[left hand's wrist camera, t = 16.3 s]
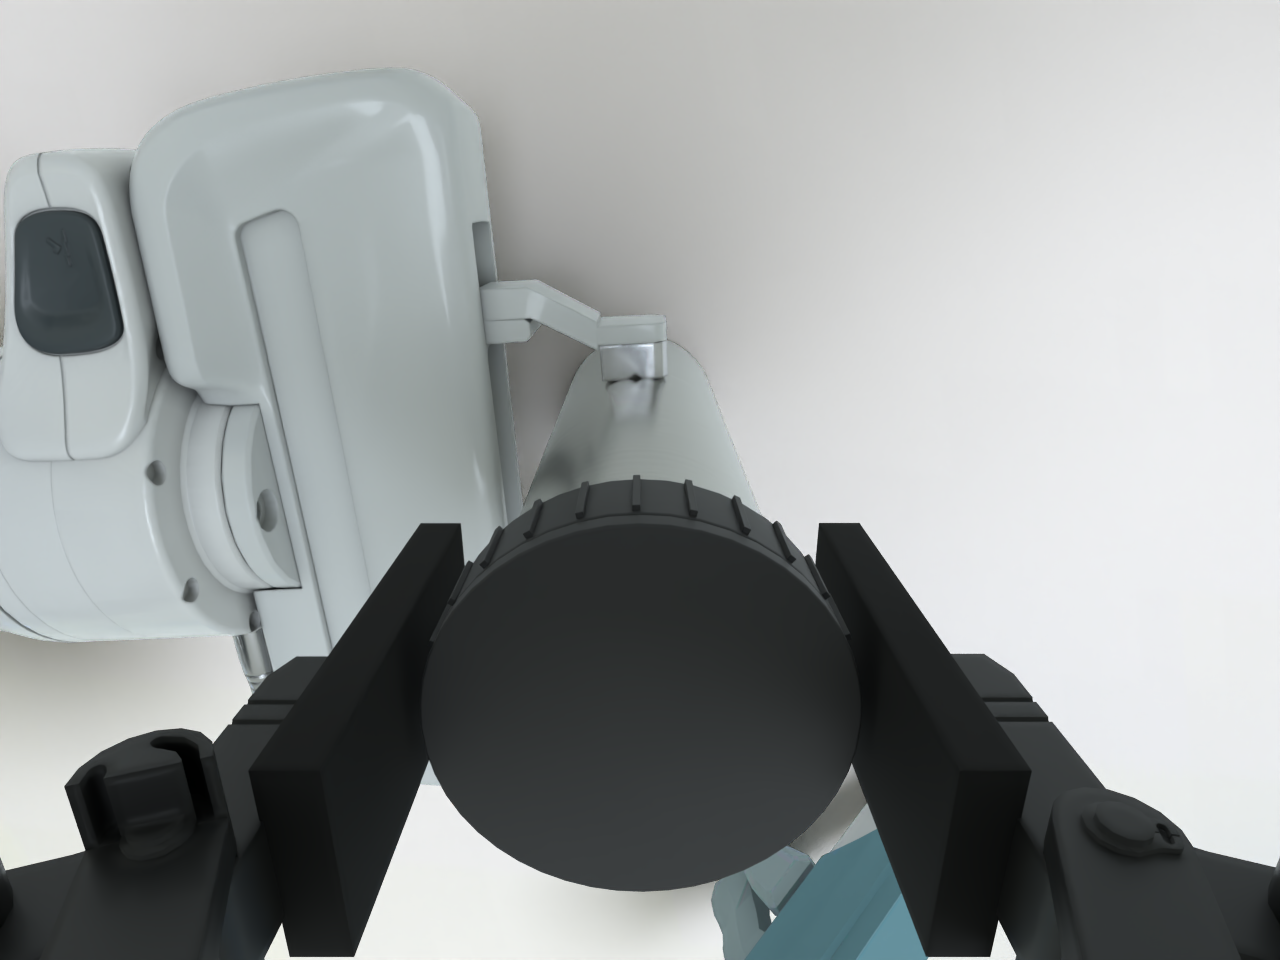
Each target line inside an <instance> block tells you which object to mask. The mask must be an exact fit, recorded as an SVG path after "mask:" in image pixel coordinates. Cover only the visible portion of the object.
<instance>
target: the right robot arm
mask: <svg viewBox="0 0 1280 960" xmlns="http://www.w3.org/2000/svg"><path fill="white" fill-rule="evenodd" d="M4 222H5V270H6V279H5V322H4V339H3V346H1V347H0V631H6V632H10V633H13V634H17V635H21V636H25V637H29V638H33V639H37V640H42V641H53V642H67V643H70V642H92V641H118V640H141V639H161V638H188V637H212V636H233V640H234V643H235V647H236V650H237V654H238V658H239V661H240V664H241V667H242V669H243V672H244V674H245V676H246V678H247V680H248V683H249V686H250V688H251V691H252V694H253V693H254V692H255V691H256V689H257V688H258V687H259V686H260V684H261V683H262V682H263V681H264V679H265V678H266V677H267V676H268V675H270V674H271V673H273V672H274V671H276V670H277V669H279V668H280V667H281V666H283V665H284V664H286V663H287V662H289V661H290V660H292V659H293V658H295V657H296V656H328V655H329V654H330V652H331V651H332V650H333V648H334V647H335V645H336V644H337V642H338V641H339V640H340V638H341V637H342V635H343V634H344V632H345V631H346V629H347V628H348V627H349V625H350V624H351V622H352V621H353V619H354V618H355V617H356V615H357V614H358V612H359V611H360V609H361V608H362V607H363V605H364V604H365V602H366V601H367V599H368V598H369V596H370V595H371V594H372V592H373V591H374V589H375V588H376V586H377V585H378V584H379V582H380V581H381V579H382V578H383V576H384V575H385V574H386V572H387V571H388V569H389V568H390V566H391V565H392V563H393V562H394V561H395V559H396V558H397V556H398V555H399V553H400V552H401V551H402V549H403V548H404V546H405V545H406V543H407V542H408V541H409V539H410V538H411V536H412V535H413V533H414V532H415V531H416V529H417V528H418V526H419V525H420V523H461V530H462V541H463V552H464V563H465V565H466V563H467V562H468V561H471V562H473V563H474V561H475V560H476V558H477V557H478V555H479V554H480V553H481V552H482V550H483V549H484V548H485V547H486V546H487V545H488V544H489V542H490V539H491V537H492V535H493V533H494V531H495V529H496V528H497V527H498V526H501V527H502V528H503V529H504V528H505V527H506V526H507V525H509V524H510V523H511V522H512V521H513V520H515V519H516V518H518V517H519V516H520V513H521V511H522V508H523V501H522V492H521V483H520V474H519V465H518V456H517V447H516V438H515V429H514V421H513V412H512V403H511V394H510V385H509V376H508V367H507V358H506V349H505V343H518V342H528V340H529V339H530V338H531V337H532V336H533V334H534V333H535V332H536V331H537V330H538V329H539V327H540V326H541V324H543V325H545V326H547V327H549V328H551V329H553V330H555V331H557V332H559V333H562V334H564V335H566V336H568V337H570V338H572V339H574V340H576V341H578V342H580V343H582V344H584V345H586V346H588V347H591V348H593V349H595V350H597V351H598V350H599V349H600V360H601V372H602V381H619V380H626V379H629V378H630V377H632V376H633V375H634V374H636V375H638V376H639V377H641V378H647V379H657V378H663V377H665V376H668V365H667V327H666V317H665V316H664V315H654V314H651V315H630V316H610V317H601V313H600V312H599V311H597V310H595V309H593V308H591V307H589V306H587V305H585V304H583V303H582V302H580V301H578V300H576V299H574V298H572V297H570V296H568V295H566V294H564V293H562V292H560V291H559V290H557V289H555V288H553V287H551V286H549V285H547V284H545V283H543V282H541V281H539V280H518V281H498V278H497V269H496V260H495V251H494V242H493V233H492V225H491V216H490V207H489V198H488V189H487V180H486V171H485V162H484V153H483V144H482V135H481V127H480V122H479V119H478V117H477V115H476V113H475V112H474V110H473V109H472V108H471V107H470V106H469V105H467V104H466V103H465V102H464V101H463V100H462V99H461V98H460V97H459V96H458V95H457V94H455V93H454V92H453V91H452V90H451V89H450V88H448V87H447V86H446V85H445V84H443V83H442V82H440V81H439V80H437V79H436V78H434V77H432V76H430V75H428V74H426V73H423V72H420V71H417V70H414V69H408V68H374V69H361V70H352V71H344V72H335V73H327V74H320V75H314V76H307V77H300V78H295V79H289V80H284V81H279V82H273V83H268V84H263V85H259V86H254V87H250V88H246V89H241V90H237V91H233V92H229V93H225V94H221V95H217V96H213V97H209V98H206V99H203V100H200V101H197V102H194V103H191V104H189V105H186V106H184V107H182V108H180V109H177V110H176V111H174V112H172V113H170V114H169V115H167V116H166V117H164V118H163V119H162V120H160V121H159V122H158V123H156V124H155V125H154V126H153V127H152V128H151V129H150V130H149V131H148V133H147V134H146V135H145V137H144V138H143V140H142V141H141V143H140V144H139V146H138V148H137V150H131V149H117V148H96V149H71V150H59V151H51V152H44V153H36V154H31V155H27V156H24V157H22V158H20V159H18V160H17V161H16V162H15V163H14V164H13V165H12V166H11V168H10V170H9V172H8V175H7V179H6V183H5V192H4ZM420 784H423V785H440V783H439V781H438V780H437V778H436V776H435V774H434V772H433V769H432V766H431V764H430V761H429V762H428V765H427V767H426V770H425V772H424V775H423V778H422V780H421V783H420ZM440 786H441V785H440Z"/></svg>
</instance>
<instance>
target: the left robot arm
mask: <svg viewBox="0 0 1280 960" xmlns="http://www.w3.org/2000/svg"><path fill="white" fill-rule="evenodd" d="M815 566H816V568H817V570H818V572H819V574H820V576H821V578H822V580H823V582H824V584H825V586H826V588H827V590H828V592H829V593H830V594H831V596H832V598H833V600H834V602H835V604H836V606H837V608H838V610H839V612H840V614H841V616H842V618H843V620H844V622H845V624H846V626H847V628H848V630H849V632H850V635H851V638H852V640H849V641H848V643H849V645H850V648H851V650H852V652H853V656H854V659H855V662H856V666H857V669H858V673H859V677H860V685H861V693H862V724H861V729H860V734H859V739H858V744H857V749H856V752H855V755H854V758H853V760H852V765H853V767H854V770H855V772H856V775H857V778H858V780H859V783H860V786H861V788H862V791H863V793H864V796H865V799H866V801H867V804H868V806H869V809H870V812H871V814H872V817H873V820H874V822H875V825H876V827H877V830H878V833H879V835H880V838H881V841H882V843H883V846H884V848H885V851H886V854H887V856H888V859H889V861H890V864H891V867H892V869H893V872H894V875H895V877H896V880H897V882H898V885H899V888H900V890H901V893H902V895H903V898H904V901H905V903H906V906H907V909H908V911H909V914H910V916H911V919H912V922H913V924H914V927H915V929H916V932H917V935H918V937H919V940H920V943H921V945H922V948H923V950H924V953H925V956H926V957H990V955H991V951H992V946H993V942H994V938H995V933H996V929H997V924H998V920H999V922H1000V924H1001V926H1002V928H1003V930H1004V932H1005V933H1006V935H1007V937H1008V939H1009V941H1010V943H1011V945H1012V947H1013V949H1014V951H1015V953H1016V959H1015V960H1280V858H1279V861H1278V864H1277V866H1276V868H1275V867H1271V866H1267V865H1263V864H1258V863H1254V862H1250V861H1246V860H1241V859H1237V858H1233V857H1228V856H1224V855H1220V854H1216V853H1211V852H1207V851H1204V850H1201V849H1197V848H1194V847H1193V846H1192V845H1191V843H1190V842H1189V840H1188V839H1187V837H1186V836H1185V834H1184V833H1183V831H1182V830H1181V829H1180V828H1179V827H1177V826H1176V825H1175V824H1174V823H1173V822H1171V821H1170V820H1169V819H1168V818H1167V817H1165V816H1164V815H1163V814H1162V813H1161V812H1159V811H1157V810H1155V809H1154V808H1152V807H1150V806H1148V805H1146V804H1144V803H1143V802H1141V801H1139V800H1137V799H1135V798H1133V797H1130V796H1127V795H1124V794H1120V793H1117V792H1114V791H1111V790H1108V789H1106V788H1105V787H1104V786H1103V785H1102V783H1101V782H1100V781H1099V780H1098V778H1097V777H1096V776H1095V775H1094V773H1093V772H1092V771H1091V770H1090V768H1089V767H1088V766H1087V765H1086V764H1085V762H1084V761H1083V760H1082V759H1081V757H1080V756H1079V755H1078V754H1077V752H1076V751H1075V750H1074V749H1073V747H1072V746H1071V745H1070V744H1069V742H1068V741H1067V740H1066V739H1065V737H1064V736H1063V735H1062V734H1061V732H1060V731H1059V730H1058V729H1057V727H1056V726H1055V725H1054V724H1053V722H1049V721H1048V716H1047V715H1046V714H1045V712H1044V711H1043V710H1042V709H1041V707H1040V706H1039V705H1038V704H1037V702H1033V700H1032V696H1031V695H1030V694H1029V692H1028V691H1027V690H1026V689H1025V688H1024V686H1023V685H1022V684H1021V683H1020V681H1019V680H1018V679H1017V678H1016V676H1015V675H1014V674H1013V673H1011V672H1010V671H1008V670H1007V669H1005V668H1004V667H1003V666H1001V665H1000V664H998V663H997V662H995V661H994V660H992V659H991V658H989V657H988V656H986V655H985V654H950V652H949V651H948V650H947V648H946V647H945V645H944V644H943V642H942V641H941V639H940V638H939V637H938V635H937V634H936V632H935V631H934V629H933V628H932V627H931V625H930V624H929V622H928V621H927V619H926V618H925V617H924V615H923V614H922V612H921V611H920V609H919V608H918V607H917V605H916V604H915V602H914V601H913V599H912V598H911V596H910V595H909V594H908V592H907V591H906V589H905V588H904V586H903V585H902V584H901V582H900V581H899V579H898V578H897V576H896V575H895V574H894V572H893V571H892V569H891V568H890V566H889V565H888V563H887V562H886V561H885V559H884V558H883V556H882V555H881V553H880V552H879V551H878V549H877V548H876V546H875V545H874V543H873V542H872V541H871V539H870V538H869V536H868V535H867V533H866V532H865V530H864V529H863V528H862V526H861V525H860V523H819V530H818V541H817V552H816V564H815ZM464 567H465V563H464V552H463V541H462V530H461V523H420V525H419V526H418V528H417V529H416V531H415V532H414V533H413V535H412V536H411V538H410V539H409V541H408V542H407V543H406V545H405V546H404V548H403V549H402V551H401V552H400V553H399V555H398V556H397V558H396V559H395V561H394V562H393V563H392V565H391V566H390V568H389V569H388V571H387V572H386V574H385V575H384V576H383V578H382V579H381V581H380V582H379V584H378V585H377V586H376V588H375V589H374V591H373V592H372V594H371V595H370V596H369V598H368V599H367V601H366V602H365V604H364V605H363V607H362V608H361V609H360V611H359V612H358V614H357V615H356V617H355V618H354V619H353V621H352V622H351V624H350V625H349V627H348V628H347V629H346V631H345V632H344V634H343V635H342V637H341V638H340V640H339V641H338V642H337V644H336V645H335V647H334V648H333V650H332V651H331V652H330V654H329V655H328V656H296V657H295V658H293V659H292V660H290V661H289V662H287V663H286V664H284V665H283V666H281V667H280V668H279V669H277V670H276V671H274V672H273V673H271V674H270V675H268V676H267V677H266V678H265V679H264V681H263V682H262V683H261V684H260V686H259V687H258V688H257V689H256V691H255V692H254V693H253V694H252V696H251V697H250V698H249V699H248V704H247V705H244V706H243V707H242V708H241V709H240V711H239V712H238V713H237V714H236V716H235V717H234V718H233V719H232V720H233V722H232V725H228V726H227V727H226V728H225V730H224V731H223V732H222V733H221V735H220V736H219V737H218V738H217V740H216V741H215V742H214V743H213V744H212V741H211V740H210V739H208V738H207V737H206V736H205V735H204V734H202V733H201V732H198V731H193V730H187V729H182V728H179V729H168V730H157V731H153V732H150V733H146V734H143V735H139V736H136V737H132V738H129V739H127V740H125V741H122V742H120V743H118V744H116V745H114V746H112V747H110V748H108V749H106V750H104V751H102V752H100V753H99V754H98V755H96V756H95V757H93V758H92V759H91V760H89V761H88V762H87V763H85V764H84V765H83V766H81V767H80V768H79V769H78V770H77V771H76V772H75V774H74V775H73V776H72V777H71V779H70V780H69V781H68V782H67V784H66V785H65V786H64V787H65V790H66V793H67V796H68V799H69V802H70V805H71V808H72V811H73V814H74V817H75V820H76V823H77V826H78V829H79V832H80V835H81V838H82V841H83V844H84V847H85V851H84V852H80V853H77V854H74V855H70V856H65V857H61V858H57V859H53V860H49V861H44V862H40V863H36V864H32V865H27V866H23V867H19V868H15V869H10V870H6V871H5V869H4V866H3V863H2V861H1V858H0V960H265V959H264V957H265V955H266V953H267V951H268V949H269V947H270V945H271V943H272V941H273V939H274V937H275V935H276V933H277V931H278V929H279V927H280V925H281V923H282V924H283V929H284V933H285V937H286V942H287V946H288V951H289V955H290V957H354V956H355V953H356V950H357V948H358V945H359V943H360V940H361V937H362V935H363V932H364V930H365V927H366V924H367V922H368V919H369V916H370V914H371V911H372V909H373V906H374V903H375V901H376V898H377V896H378V893H379V890H380V888H381V885H382V882H383V880H384V877H385V875H386V872H387V869H388V867H389V864H390V861H391V859H392V856H393V854H394V851H395V848H396V846H397V843H398V841H399V838H400V835H401V833H402V830H403V827H404V825H405V822H406V820H407V817H408V814H409V812H410V809H411V807H412V804H413V801H414V799H415V796H416V793H417V791H418V788H419V786H420V783H421V780H422V778H423V775H424V772H425V770H426V767H427V765H428V762H429V758H428V756H427V753H426V749H425V745H424V740H423V735H422V730H421V722H420V704H419V703H420V693H421V683H422V677H423V673H424V669H425V666H426V662H427V658H428V655H429V652H430V650H431V647H428V644H429V640H430V638H431V636H432V634H433V632H434V630H435V628H436V626H437V624H438V622H439V620H440V618H441V616H442V614H443V612H444V610H445V608H446V606H447V602H448V600H449V598H450V596H451V594H452V592H453V590H454V587H455V585H456V583H457V581H458V579H459V577H460V575H461V573H462V571H463V569H464Z"/></svg>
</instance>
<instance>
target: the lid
mask: <svg viewBox="0 0 1280 960" xmlns="http://www.w3.org/2000/svg"><path fill="white" fill-rule="evenodd" d="M849 640H852V638H851V635H850V632H849V630H848V628H847V626H846V624H845V622H844V620H843V618H842V616H841V614H840V612H839V610H838V608H837V606H836V604H835V602H834V600H833V598H832V596H831V594H830V593H829V592H828V590H827V588H826V586H825V584H824V582H823V580H822V578H821V576H820V574H819V572H818V570H817V568H816V566H815V564H814V562H813V560H812V558H811V556H810V555H809V554H808V555H807V556H805V557H804V556H803V554H802V553H801V552H800V551H799V549H798V548H797V547H796V546H795V545H794V544H793V543H792V542H791V541H790V539H789V538H788V537H787V536H786V534H785V532H784V530H783V528H782V525H781V524H780V523H779V522H778V521H775V522H774V523H773V524H772V523H771V522H769V521H768V520H767V519H766V518H764V517H763V516H761V515H760V514H758V513H756V512H755V511H753V510H752V509H750V508H749V507H747V506H745V505H744V504H742V501H741V499H740V497H738V496H736V495H734V496H733V498H732V499H731V498H729V497H726V496H724V495H722V494H720V493H717V492H714V491H710V490H707V489H704V488H701V487H697V486H694V485H693V483H692V480H687V479H685V482H684V483H678V482H672V481H667V480H648V479H640V475H633V479H632V480H618V481H609V482H604V483H598V484H593V485H589V482H588V481H586V482H582V483H581V488H578V489H575V490H572V491H569V492H566V493H563V494H559V495H557V496H555V497H553V498H551V499H549V500H547V501H545V502H542V500H541V499H538V500H536V501H534V504H533V507H532V508H531V509H530V510H528V511H527V512H525V513H524V514H522V515H521V516H519V517H518V518H516V519H515V520H513V521H512V522H511V523H510V524H509V525H507V526H506V527H505V528H504V529H503V528H502V527H501V526H498V527H497V528H496V529H495V531H494V533H493V535H492V537H491V539H490V542H489V544H488V545H487V546H486V547H485V548H484V549H483V550H482V552H481V553H480V554H479V555H478V557H477V558H476V560H475V561H474V563H473V562H471V561H468V562H467V563H466V565H465V567H464V569H463V571H462V573H461V575H460V577H459V579H458V581H457V583H456V585H455V587H454V590H453V592H452V594H451V596H450V598H449V600H448V602H447V606H446V608H445V610H444V612H443V614H442V616H441V618H440V620H439V622H438V624H437V626H436V628H435V630H434V632H433V634H432V636H431V638H430V640H429V644H428V647H431V650H430V652H429V655H428V658H427V662H426V666H425V669H424V673H423V677H422V683H421V693H420V703H419V704H420V722H421V730H422V735H423V740H424V745H425V749H426V753H427V756H428V758H429V761H430V764H431V766H432V769H433V772H434V774H435V776H436V778H437V780H438V781H439V783H440V785H441V787H442V789H443V790H444V792H445V794H446V796H447V797H448V798H449V800H450V801H451V802H452V804H453V805H454V806H455V808H456V809H457V810H458V812H459V813H460V814H461V815H462V816H463V817H464V818H465V820H466V821H467V822H468V823H469V824H470V825H471V826H472V827H473V828H474V829H475V830H476V831H477V832H478V833H480V834H481V835H482V836H483V837H485V838H486V839H487V840H488V841H490V842H491V843H492V844H493V845H494V846H496V847H497V848H499V849H500V850H502V851H503V852H505V853H507V854H508V855H510V856H511V857H513V858H515V859H516V860H518V861H520V862H522V863H524V864H526V865H528V866H530V867H532V868H534V869H536V870H538V871H540V872H543V873H546V874H548V875H551V876H554V877H557V878H560V879H562V880H565V881H569V882H573V883H577V884H581V885H585V886H589V887H595V888H602V889H609V890H617V891H640V892H645V891H662V890H673V889H679V888H686V887H692V886H697V885H701V884H705V883H708V882H712V881H716V880H720V879H723V878H725V877H728V876H731V875H733V874H736V873H739V872H741V871H744V870H746V869H748V868H750V867H752V866H754V865H756V864H758V863H760V862H762V861H764V860H766V859H767V858H769V857H771V856H772V855H774V854H775V853H777V852H778V851H780V850H781V849H783V848H784V847H786V846H788V845H789V844H790V843H791V842H792V841H794V840H795V839H796V838H797V837H798V836H800V835H801V834H802V833H803V832H804V831H806V830H807V829H808V828H809V827H810V826H811V824H812V823H813V822H814V821H815V820H816V819H817V818H818V817H819V816H820V815H821V814H822V813H823V812H824V810H825V809H826V807H827V806H828V805H829V803H830V802H831V801H832V799H833V798H834V796H835V795H836V794H837V792H838V790H839V788H840V787H841V785H842V783H843V781H844V779H845V777H846V775H847V773H848V771H849V769H850V766H851V763H852V760H853V758H854V755H855V752H856V749H857V744H858V739H859V734H860V729H861V724H862V693H861V685H860V677H859V673H858V669H857V666H856V662H855V659H854V656H853V652H852V650H851V648H850V645H849V643H848V641H849Z"/></svg>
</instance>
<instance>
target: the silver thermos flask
mask: <svg viewBox="0 0 1280 960" xmlns="http://www.w3.org/2000/svg"><path fill="white" fill-rule="evenodd" d="M667 365H668V376H665V377H663V378H657V379H647V378H641V377H639V376H638V375H636V374H634V375H633V376H632V377H630V378H629V379H626V380H619V381H602V372H601V360H600V349H599V350H598V351H597V350H595V351H593V352H592V353H591V354H590V355H589V356H588V357H587V358H586V359H585V360H584V361H583V363H582V364H581V365H580V367H579V368H578V370H577V372H576V374H575V375H574V378H573V380H572V383H571V385H570V388H569V391H568V393H567V396H566V398H565V401H564V403H563V406H562V408H561V411H560V414H559V416H558V419H557V421H556V424H555V426H554V429H553V431H552V434H551V437H550V439H549V442H548V444H547V447H546V449H545V452H544V454H543V457H542V460H541V462H540V465H539V467H538V470H537V472H536V475H535V477H534V480H533V483H532V485H531V488H530V490H529V493H528V495H527V498H526V500H525V503H524V506H523V508H522V511H521V513H520V516H521V515H522V514H524V513H525V512H527V511H528V510H530V509H531V508H532V507H533V504H534V501H536V500H538V499H541V500H542V502H545V501H547V500H549V499H551V498H553V497H555V496H557V495H559V494H563V493H566V492H569V491H572V490H575V489H578V488H581V483H582V482H586V481H588V482H589V485H593V484H598V483H604V482H609V481H618V480H632V479H633V475H640V479H648V480H667V481H672V482H678V483H684V482H685V479H687V480H692V483H693V485H694V486H697V487H701V488H704V489H707V490H710V491H714V492H717V493H720V494H722V495H724V496H726V497H729V498H731V499H732V498H733V496H734V495H736V496H738V497H740V499H741V501H742V504H744V505H745V506H747V507H749V508H750V509H752V510H753V511H755V512H756V513H758V514H760V515H761V513H760V510H759V508H758V505H757V503H756V500H755V498H754V495H753V492H752V490H751V487H750V485H749V482H748V480H747V477H746V475H745V472H744V470H743V467H742V465H741V462H740V460H739V457H738V455H737V452H736V450H735V447H734V444H733V442H732V439H731V437H730V434H729V432H728V429H727V427H726V424H725V422H724V419H723V417H722V414H721V412H720V409H719V407H718V404H717V402H716V399H715V396H714V394H713V391H712V389H711V386H710V384H709V381H708V379H707V376H706V374H705V372H704V371H703V369H702V367H701V366H700V364H699V363H698V362H697V360H696V359H695V358H694V357H693V356H692V355H691V354H690V353H689V352H687V351H686V350H685V349H684V348H682V347H681V346H679V345H677V344H676V343H674V342H672V341H669V340H667ZM761 516H762V515H761Z"/></svg>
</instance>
